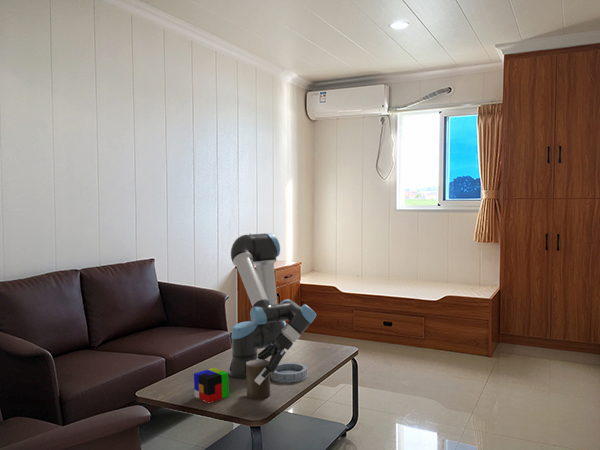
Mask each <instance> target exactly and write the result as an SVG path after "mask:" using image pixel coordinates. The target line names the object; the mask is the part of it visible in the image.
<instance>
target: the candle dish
mask: <svg viewBox="0 0 600 450" xmlns="http://www.w3.org/2000/svg"><path fill="white" fill-rule="evenodd" d="M308 374H309V373H308V367H307V366H306V365H305V364H302V363H299V362H283V363H279V364H278V366H277V368H276V369H275V371H274V372H270V380H272V381H274V382H276V383H279V384H280V383H282V384H292V383H299V382H300V383H301V382H303V381H305V380H306V379H308Z"/></svg>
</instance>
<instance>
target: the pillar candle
mask: <svg viewBox="0 0 600 450" xmlns="http://www.w3.org/2000/svg"><path fill="white" fill-rule="evenodd" d="M269 361H270V360H267V359H265V360H262V359H259V360H251V361H248V362H246V378H245V379H246V380H245V381H246V396H247V398H248V399H250V400H264V399H268V398H269V397H270V396H271V376H270V374H271V372H270V373H269V374H268V376H267V377H266V378H265V379H264V380H263V381H262V383H261V384H260V385H259V384H258V383H256V382H255V381H254V380H255V379H256V378H257V376H258V375H259V374H260V373H261V372H262V371H263V369H264V368H265V366H267V365H268V363H269Z"/></svg>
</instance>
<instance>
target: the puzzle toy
mask: <svg viewBox="0 0 600 450" xmlns="http://www.w3.org/2000/svg"><path fill="white" fill-rule="evenodd" d="M193 383H194V390H193V391H194V397H195V396H196V397H199V398H200V399H202V400H205V401H206V402H212V401H215V402H217V401H216V400H218V401H220V399H221V400H224V399H225V398H226V399H227V398H229V397H230V387H229V385H230V384H229V371H228V372H227V371H224V370H222V369H219V368H216V367H211V368H208V369H204V370H201V371H199V372H195V373H194V374H193ZM223 398H224V399H223ZM202 400H201V401H202ZM206 402H205V403H206ZM212 403H213V402H212Z"/></svg>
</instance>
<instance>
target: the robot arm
mask: <svg viewBox="0 0 600 450" xmlns="http://www.w3.org/2000/svg"><path fill="white" fill-rule="evenodd" d="M280 253H281V245H280V241H279V239H278V238H277V236H276V235H275V234H273V233H255V234H253V233H252V234H244V235H243V234H242V235H240V236H238V237H237V238H236V239H235V240H234V242H233V243H232V246H231V249H230V259H231V262H232V265H234V266H235V267H236V269H237V271H238V273H239V274H238V275H239V276H240V279H241V281H242V283H243V286H244V289H245V291H246V294H247V296H248V299H249V301H250V304H251V306H252V308H251V309H250V312H249V315H250V320H248V321H242V322H241V321H240V322H239V323H236V324H235V325H233V326H232V328H231V335H230V336H231V353H232V357H231V361H230V365H229V368H228V376H230V377H231V378H234V379H241V380H242V379H246V362H248V361H251V360H259V359H262V360H267V359H268V358H269V357H270V359H269V360H268V361H269V363H268V365H267V366H265V368H264V369H263V371H262V372H261V373H260V374H259V375H258V376H257V378H256V379H255V380H254V381H255V382H256V383H258V384H259V385H260V384H261V383H262V381H263V380H264V379H265V378H266V377H267V376H268V374H269V373H270V374H271V372H274V371H275V369H276V368H277V366H278V364H280V362H281V360H282V359H283V357H284V356H285V355H286V354H287V351H289V350H290V349H291V348H292V347H293V345H294V343H295V342H297V341H298V340H299V339H300V336H302V334H303V333H304V332H305V331H306V329H308V327H309V326H311V324H312V323H313V322H314V320H315V318H316V317H317V313H316V312H315V311H314V310H313V309H312V308H311V307H310V306H308V305H307V304H303V305H302V306H300V305H298V304H297V302H295V301H292V300H291V299H284V300H282V301H281V302H280V303H278V299H277V298H278V297H277V286H276V285H277V284H276V276H275V263H276V262H277V258H278V257H279V256H280ZM286 321H288V322H286ZM261 349H262V350H261ZM258 350H261V351H260V352H258ZM285 350H287V351H285Z"/></svg>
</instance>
